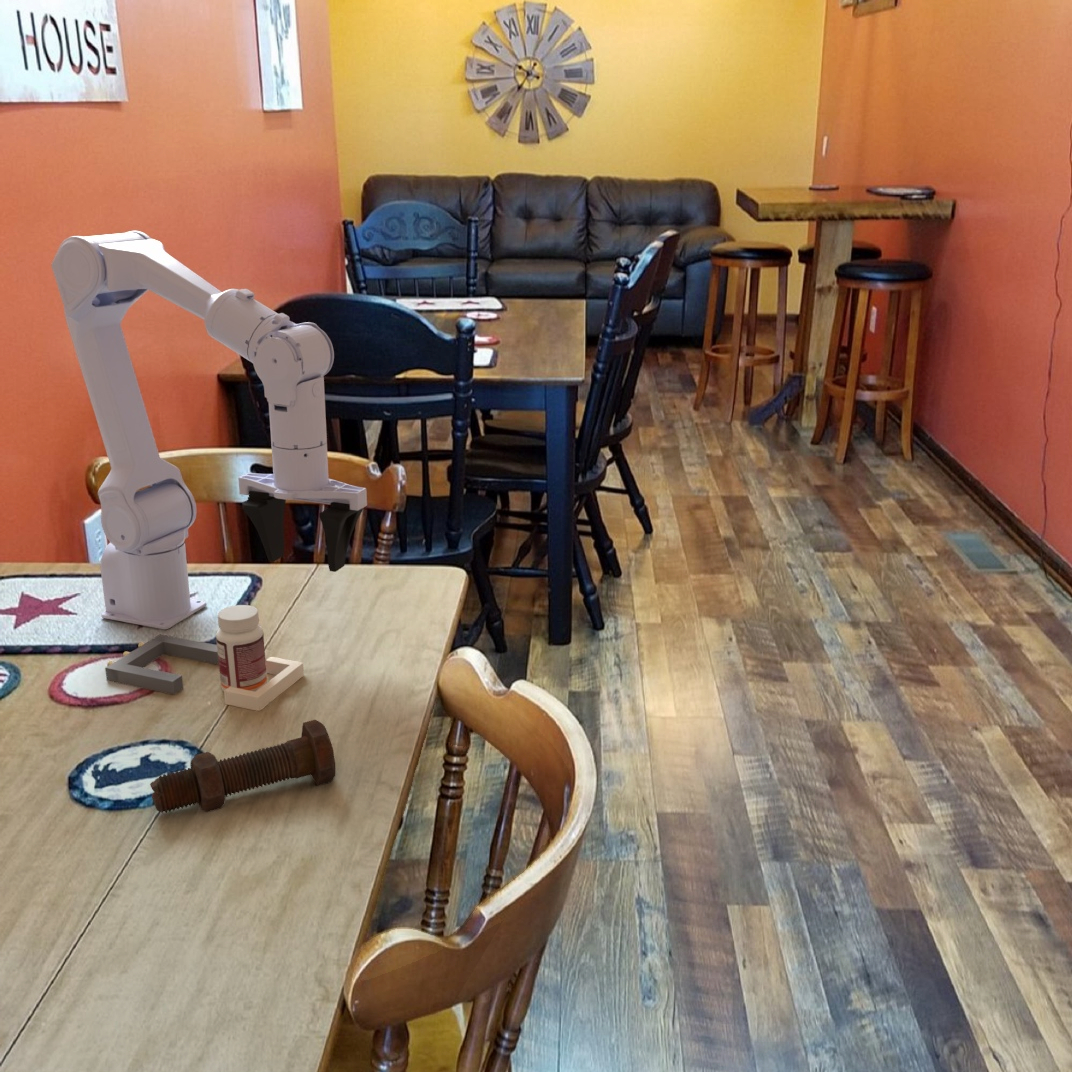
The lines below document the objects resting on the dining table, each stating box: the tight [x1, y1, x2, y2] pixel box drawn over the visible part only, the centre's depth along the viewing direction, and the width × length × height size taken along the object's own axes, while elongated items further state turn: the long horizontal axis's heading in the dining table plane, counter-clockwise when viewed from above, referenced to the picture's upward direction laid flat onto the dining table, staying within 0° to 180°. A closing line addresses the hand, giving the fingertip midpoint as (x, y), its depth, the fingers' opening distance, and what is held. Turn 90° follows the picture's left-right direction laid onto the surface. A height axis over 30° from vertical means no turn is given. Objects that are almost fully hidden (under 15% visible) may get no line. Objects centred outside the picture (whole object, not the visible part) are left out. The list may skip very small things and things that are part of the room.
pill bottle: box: [215, 604, 268, 692], centre depth 116 cm, size 5×5×8 cm
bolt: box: [149, 719, 337, 814], centre depth 97 cm, size 6×5×15 cm
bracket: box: [223, 656, 305, 712], centre depth 116 cm, size 4×8×2 cm, turn 160°
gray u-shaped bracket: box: [104, 633, 219, 696], centre depth 120 cm, size 10×9×2 cm
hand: (306, 563), depth 122 cm, fingers open, 7 cm apart
